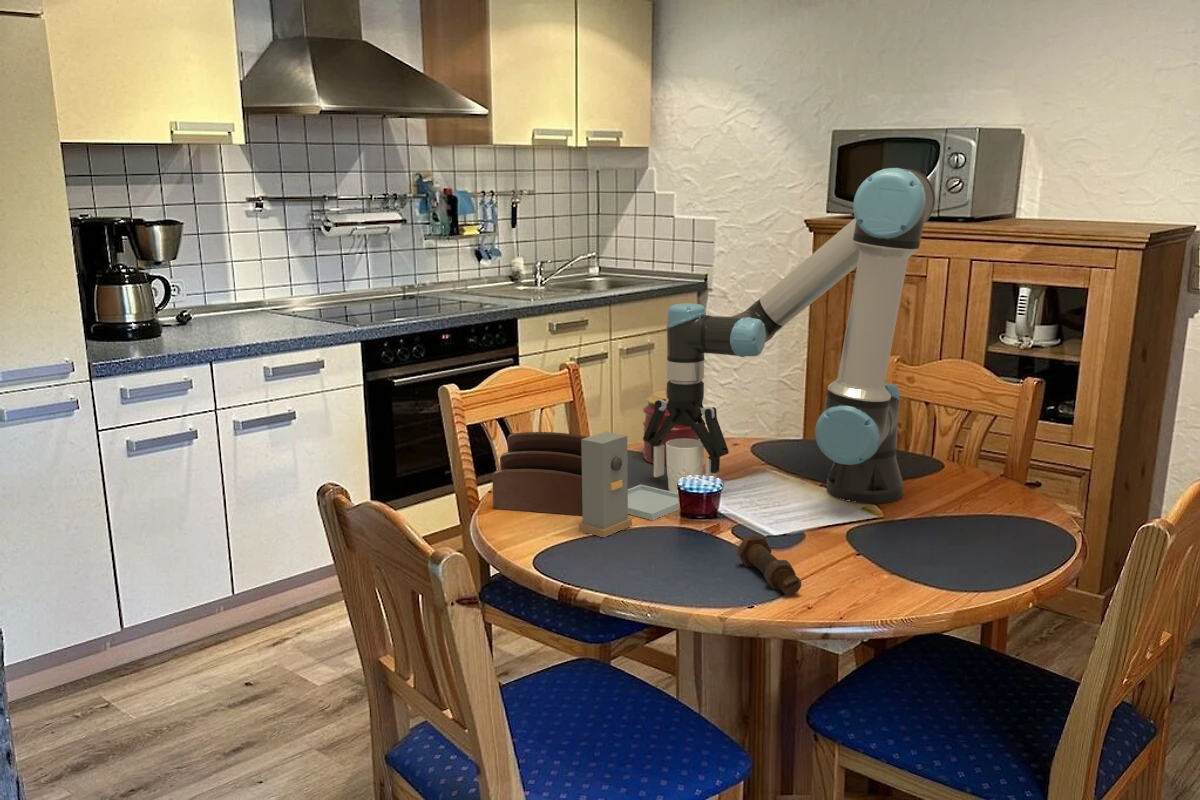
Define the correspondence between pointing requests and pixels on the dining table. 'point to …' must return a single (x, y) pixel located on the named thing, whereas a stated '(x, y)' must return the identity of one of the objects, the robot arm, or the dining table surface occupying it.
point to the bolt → (768, 564)
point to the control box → (604, 484)
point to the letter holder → (540, 474)
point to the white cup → (683, 460)
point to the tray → (651, 502)
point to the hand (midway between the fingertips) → (684, 481)
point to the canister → (674, 433)
